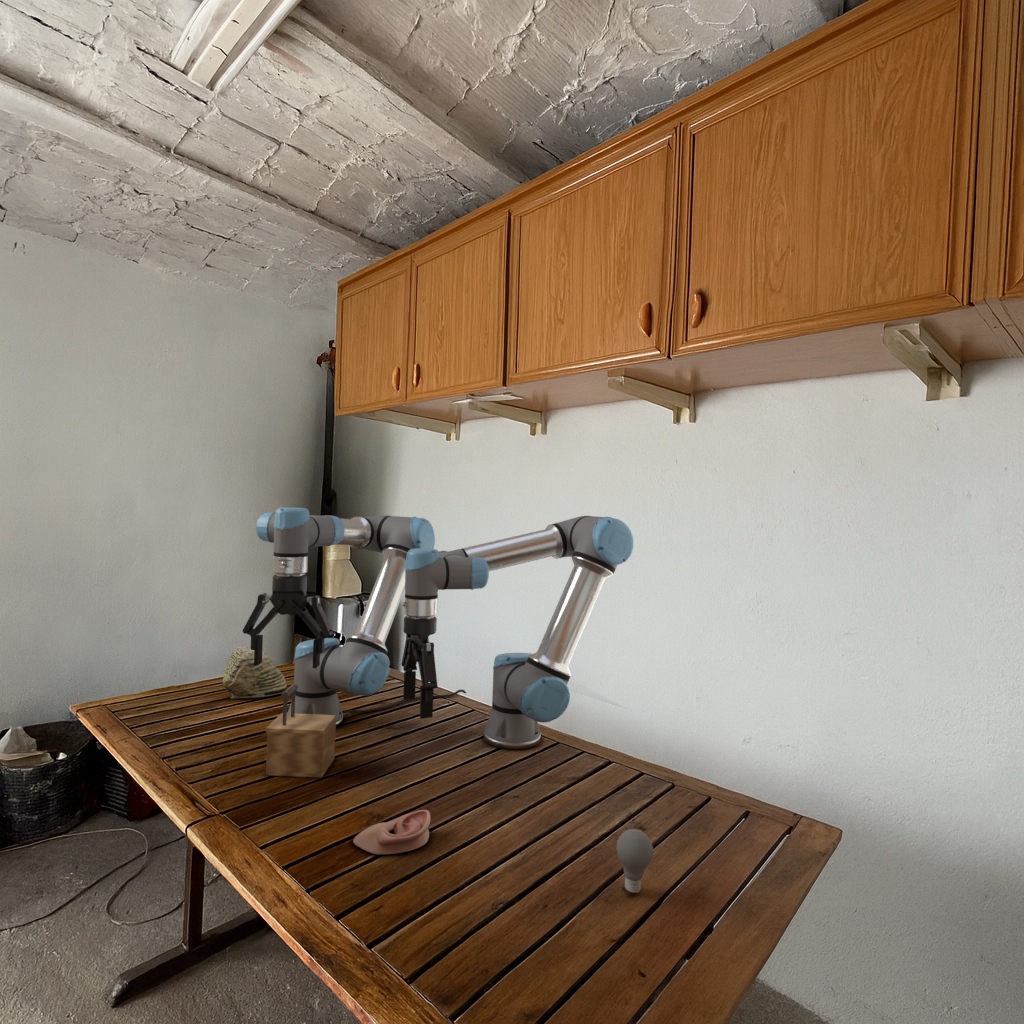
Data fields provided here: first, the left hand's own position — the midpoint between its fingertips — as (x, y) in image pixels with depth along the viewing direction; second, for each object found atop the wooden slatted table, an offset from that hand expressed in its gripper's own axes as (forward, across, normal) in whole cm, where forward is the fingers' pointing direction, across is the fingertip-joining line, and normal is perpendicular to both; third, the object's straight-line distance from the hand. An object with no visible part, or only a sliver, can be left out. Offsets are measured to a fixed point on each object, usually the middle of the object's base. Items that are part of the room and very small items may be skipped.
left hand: (287, 665), depth 147 cm
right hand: (+8, +31, -1) cm, 32 cm away
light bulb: (+24, +74, -40) cm, 88 cm away
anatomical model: (+24, +32, -29) cm, 49 cm away
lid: (+14, +4, 0) cm, 15 cm away
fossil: (+24, -28, +50) cm, 62 cm away
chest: (+24, +4, 0) cm, 24 cm away
